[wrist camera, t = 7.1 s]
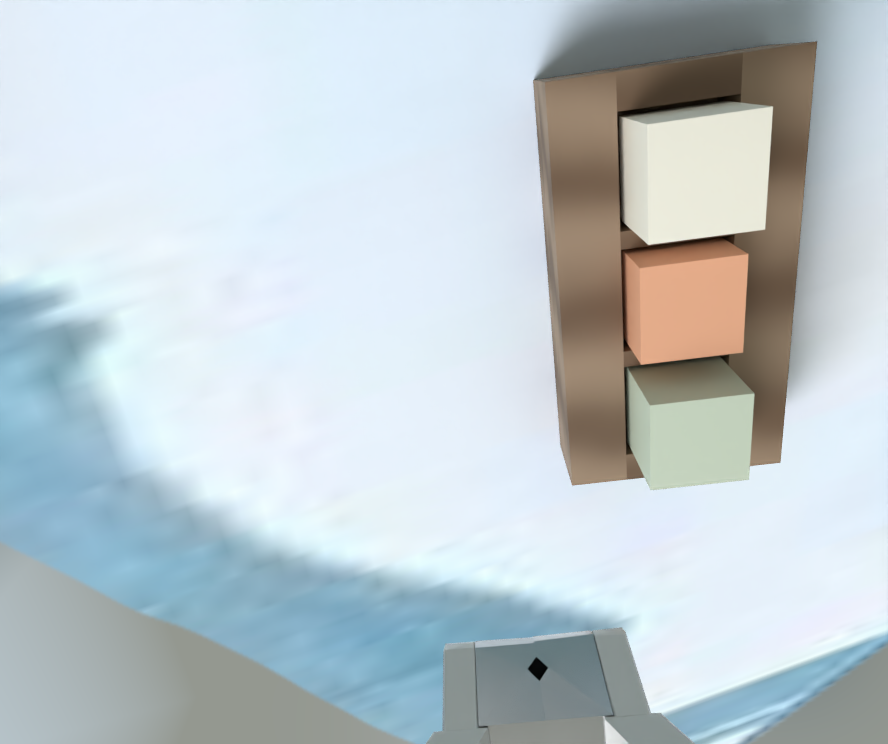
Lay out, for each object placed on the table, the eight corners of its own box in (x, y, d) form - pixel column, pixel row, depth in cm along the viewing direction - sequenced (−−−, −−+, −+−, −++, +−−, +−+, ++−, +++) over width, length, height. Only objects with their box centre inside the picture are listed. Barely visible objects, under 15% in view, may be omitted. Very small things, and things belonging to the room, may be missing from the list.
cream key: (618, 116, 31) (647, 124, 27) (725, 100, 31) (773, 106, 27) (621, 220, 34) (648, 244, 29) (721, 207, 33) (764, 229, 29)
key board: (533, 80, 34) (544, 82, 30) (771, 44, 33) (817, 41, 29) (560, 445, 43) (572, 485, 39) (748, 424, 42) (780, 462, 38)
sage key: (625, 363, 37) (650, 405, 32) (716, 352, 36) (754, 393, 32) (627, 440, 39) (650, 490, 34) (713, 431, 39) (748, 479, 34)
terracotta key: (615, 242, 36) (639, 268, 31) (709, 230, 35) (748, 254, 31) (617, 328, 38) (641, 364, 33) (707, 317, 37) (743, 352, 33)
